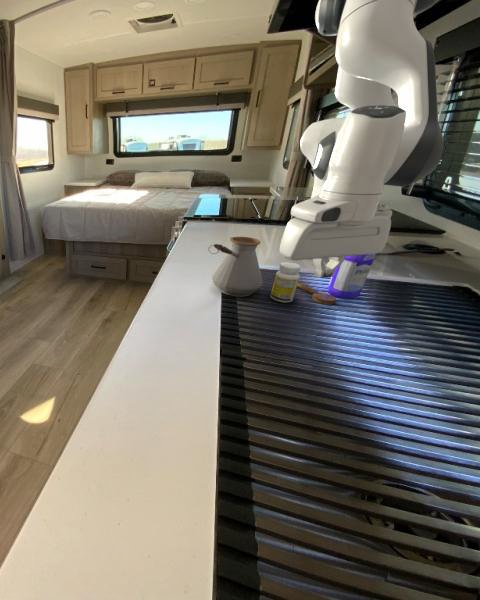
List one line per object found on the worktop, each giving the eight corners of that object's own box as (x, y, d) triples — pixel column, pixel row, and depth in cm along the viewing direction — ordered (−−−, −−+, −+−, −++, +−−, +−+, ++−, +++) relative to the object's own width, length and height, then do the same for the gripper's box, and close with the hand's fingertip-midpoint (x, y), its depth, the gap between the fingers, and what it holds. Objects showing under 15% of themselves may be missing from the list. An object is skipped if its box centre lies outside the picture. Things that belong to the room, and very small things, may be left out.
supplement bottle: (279, 293, 81) (288, 260, 77) (297, 300, 77) (308, 266, 73) (265, 296, 79) (274, 263, 75) (282, 304, 75) (293, 270, 71)
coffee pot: (223, 277, 90) (234, 222, 83) (267, 290, 82) (283, 230, 76) (179, 302, 77) (188, 239, 70) (227, 319, 69) (242, 251, 63)
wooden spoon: (272, 277, 90) (273, 273, 89) (287, 276, 90) (288, 272, 90) (322, 305, 75) (323, 300, 74) (339, 303, 75) (341, 299, 75)
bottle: (345, 302, 76) (374, 227, 68) (320, 292, 81) (345, 221, 73) (364, 296, 78) (394, 223, 71) (339, 287, 83) (365, 218, 75)
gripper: (378, 201, 65) (354, 267, 71) (284, 206, 62) (267, 274, 68) (412, 207, 59) (382, 278, 65) (309, 213, 57) (288, 287, 63)
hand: (322, 276), depth 67 cm, fingers closed
